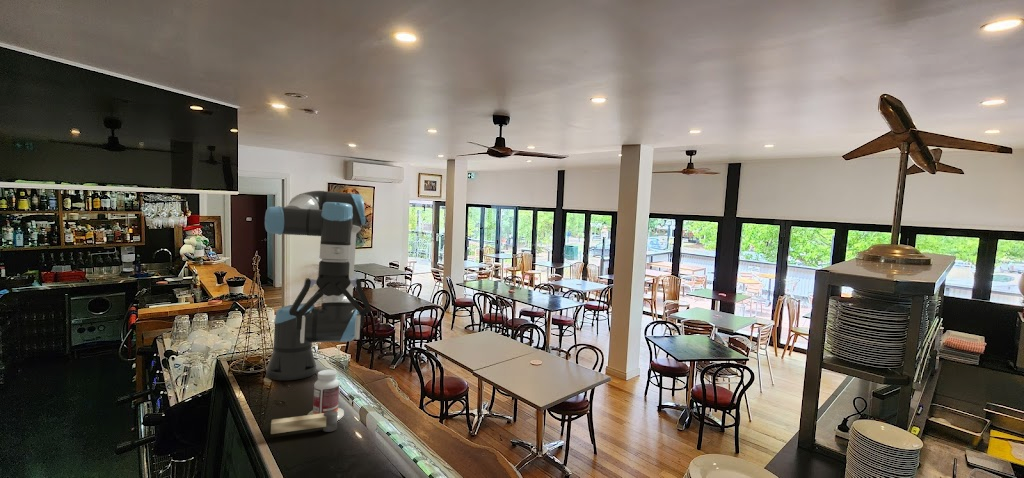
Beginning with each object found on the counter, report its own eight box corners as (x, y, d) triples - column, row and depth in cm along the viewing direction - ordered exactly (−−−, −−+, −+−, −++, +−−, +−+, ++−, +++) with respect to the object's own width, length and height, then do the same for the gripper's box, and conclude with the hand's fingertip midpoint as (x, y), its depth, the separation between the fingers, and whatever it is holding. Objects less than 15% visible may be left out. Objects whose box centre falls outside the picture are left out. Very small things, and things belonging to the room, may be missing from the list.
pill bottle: (341, 408, 118) (343, 369, 118) (333, 418, 112) (335, 376, 112) (318, 408, 118) (320, 368, 118) (308, 417, 112) (310, 375, 111)
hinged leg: (336, 425, 110) (337, 410, 110) (337, 430, 107) (338, 415, 107) (270, 434, 103) (271, 418, 103) (270, 440, 100) (271, 423, 100)
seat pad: (305, 413, 116) (305, 409, 116) (340, 408, 121) (341, 404, 121) (308, 427, 108) (309, 423, 108) (346, 421, 113) (346, 417, 113)
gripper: (282, 260, 105) (277, 347, 105) (385, 262, 117) (381, 340, 118) (281, 258, 111) (276, 339, 112) (379, 260, 124) (374, 333, 124)
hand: (330, 340), depth 115 cm, fingers open, 13 cm apart
